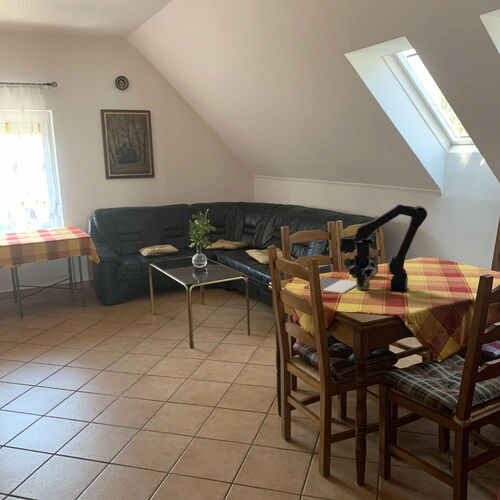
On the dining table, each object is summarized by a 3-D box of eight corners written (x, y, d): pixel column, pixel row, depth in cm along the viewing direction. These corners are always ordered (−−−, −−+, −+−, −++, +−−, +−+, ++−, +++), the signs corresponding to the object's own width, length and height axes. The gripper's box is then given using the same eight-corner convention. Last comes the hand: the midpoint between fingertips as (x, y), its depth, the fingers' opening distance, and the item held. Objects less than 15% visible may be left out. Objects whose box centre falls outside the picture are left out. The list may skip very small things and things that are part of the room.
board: (360, 283, 240) (360, 282, 240) (343, 293, 224) (343, 292, 224) (322, 278, 252) (322, 277, 252) (303, 288, 236) (303, 286, 236)
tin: (377, 275, 254) (377, 259, 252) (378, 277, 251) (378, 260, 249) (347, 275, 255) (347, 259, 254) (348, 277, 252) (348, 261, 251)
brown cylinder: (369, 287, 231) (369, 277, 230) (365, 289, 227) (365, 279, 226) (360, 286, 233) (360, 275, 232) (356, 288, 230) (356, 278, 229)
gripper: (354, 247, 239) (354, 279, 242) (338, 255, 224) (338, 288, 227) (377, 249, 233) (376, 281, 236) (361, 257, 218) (361, 291, 221)
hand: (363, 285), depth 230 cm, fingers closed on brown cylinder, 4 cm apart
